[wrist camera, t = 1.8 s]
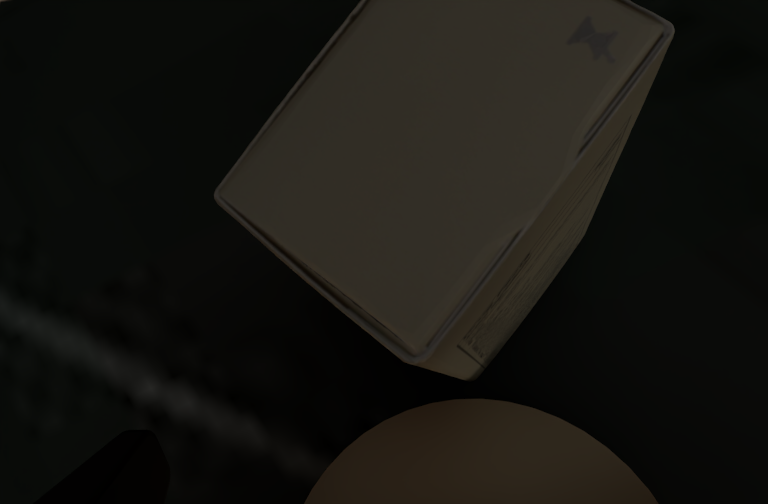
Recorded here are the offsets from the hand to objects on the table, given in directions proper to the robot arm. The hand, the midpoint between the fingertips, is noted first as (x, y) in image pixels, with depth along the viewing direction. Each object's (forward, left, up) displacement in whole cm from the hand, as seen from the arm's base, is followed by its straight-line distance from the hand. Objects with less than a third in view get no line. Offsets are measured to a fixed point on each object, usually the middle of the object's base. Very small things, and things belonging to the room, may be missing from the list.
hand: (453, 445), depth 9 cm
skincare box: (+5, -1, -11) cm, 12 cm away
